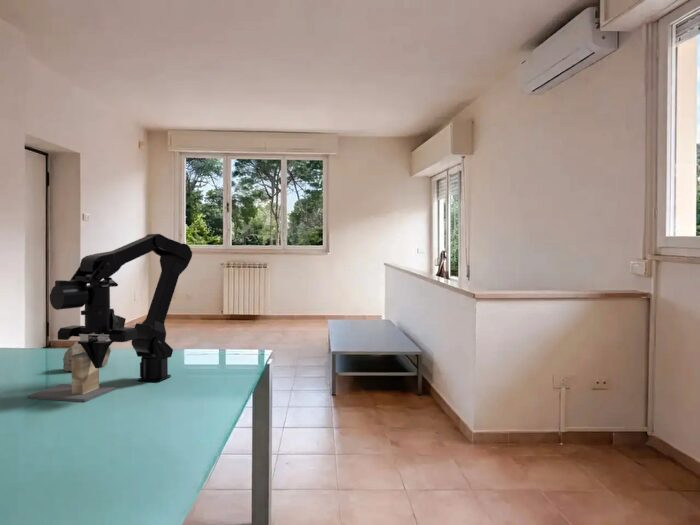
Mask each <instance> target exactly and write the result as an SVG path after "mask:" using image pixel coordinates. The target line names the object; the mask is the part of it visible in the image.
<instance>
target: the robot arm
mask: <svg viewBox="0 0 700 525" xmlns="http://www.w3.org/2000/svg"><path fill="white" fill-rule="evenodd" d="M151 252H153V253H154V254H155V255H157V256H159V264H160V269H161V272H160V274H159V278H158V282H157V284H156V287H155V290H154V293H153V297H152V299H151V302H150V304H149V305H150V306H149V309H148V312H147V314H146V317H145V319H144V321H142V323H138V322H136V324H135V325H134V327H132V326H131V327H129V326H128V327H127V326H125V324H126V320H127V319H126V318H125V317H122V316H120V315H115V310H114V308H111V288H112V287H118V286H119V284H118V282H116V281H115V280H114V279H113V278H112V277H111V276H113V275H114V274H115V273H118V271H120V269H121V268H122V266H124V265H125V264H127V263H130V262H131V261H134V260H136V259H138V258H141V257H143V256H145V255H146V254H149V253H151ZM192 257H193V251H192V249H191V247H190V246H189V245H188V244H187V243H181V242H179V241H177V240H174V239H171V238H168V237H166V236H164V235H163V234H161V233H148V234H147V235H145V236H144V237H141V238H138V239H136V240H135V241H134V240H133V241H132V242H129V243H127V244H125V245H123V246H120V247H117V248H115V249H113V250H110V251H105V252H99V253H98V252H97V253H93V254H88V255H85V256H84V257H82V259H81V260H80V263H79V267H78V268H77V270H76V271H75V272H74V274H73V276H72V277H71V279H70V280H62V279H61V280H58V279H57V280H55V281H54V286H53V287H52V289H51V290H50V294H49V303H50V305H51V307H52V309H54V310H57V311H58V310H59V311H61V310H67V309H78V308H79V309H80V308H82V307H84V310H80V315H81V316H84V325H69V326H64V327H60V328H59V329H58V331H57V340H58V341H69V340H70V339H71V337H79V340H77V341H78V344H81V346H82V347H83V348H84V350H85V351H86V353H87V354H88V356H89V358H90V360H91V361H92V363H93V365H94V367H95V368H99V369H101V368H102V367H101V366H102V363H103V360H104V358H105V355H106V352H107V350H108V348H109V347H111V345H112V344H113V343H127V342H130V341H131V346H132V348H133V350H134V351H135V353H136V356H137V357H139V358H141V361H140V362H139V376H140V377H139V378H138V379H137V382H150V383H151V382H153V383H159V382H162V381H164V380H167V379H169V378H170V377H172V375H171V374H169V373H168V372H169V371H168V370H169V369H168V368H169V367H168V366H169V364H168V361H169V359H168V358H171V357H172V355H173V352H174V349H173V347H171V346H170V345H169V344H168V343H167V341H166V338H167V337H166V336H167V330H166V327H165V322H166V319H167V315H168V312H169V309H170V307H171V302H172V299H173V296H174V294H175V289H176V287H177V283H178V280H179V277H180V275H181V274H182V273H183V272H184V271H185V270H186V269H187V267H188V266H189V264H190V262H191V260H192Z"/></svg>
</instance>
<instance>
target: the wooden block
mask: <svg viewBox="0 0 700 525" xmlns="http://www.w3.org/2000/svg"><path fill="white" fill-rule="evenodd" d="M71 362H72V371H71V384H72V394H85V393H88V392H90V391H93V390H95V389H98V388H99V386H100V368H95V367H94V365H93V363H92V361H91V360H90V358H89V356H88V354H87V353H86V352H83V353H80V354H76V355H73V356H71Z"/></svg>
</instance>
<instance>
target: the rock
mask: <svg viewBox="0 0 700 525" xmlns="http://www.w3.org/2000/svg"><path fill="white" fill-rule="evenodd" d="M78 341H79V340H77V341H75V342H74V343H73V344H72V345H71V346H70V347H68V348H67V350H66V351H65V353H64V356H63V358H62V360H63V361H62V362H63V367H62V368H63V371H66V372H72V362H71V356H73V355H76V354H80V353H83V352H86V351H85V350H84V348H83V347H82V346H81V344H78ZM111 352H112V350H111V346H109V348H108V350H107V352H106V355H105V358H104V360H103V363H102V366H101V368H104V366H107V365H108V363H109V360H110V359H109V358H110V355H111Z"/></svg>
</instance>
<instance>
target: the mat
mask: <svg viewBox="0 0 700 525" xmlns="http://www.w3.org/2000/svg"><path fill="white" fill-rule="evenodd" d="M115 390H116V387H115V386H106V385H105V386H104V385H103V386H102V385H101V386H100V385H99V388H98V389H95V390H93V391H90V392H88V393H85V394H72V383H70V384H69V383H60V384H57V385H54V386H51V387H49V388H45V389H42V390H40V391H36V392H33V393H31V394H28V395H27V399H36V398H40V399H39V400H50V399H51V400H50V401H53V400H55V401H67V402H80V403H82V402H83V403H85V402H88V401H90V400H94V399H95V398H98V397H100V396H103V395H105V394H108V393H109V392H112V391H115ZM41 398H42V399H41Z"/></svg>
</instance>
